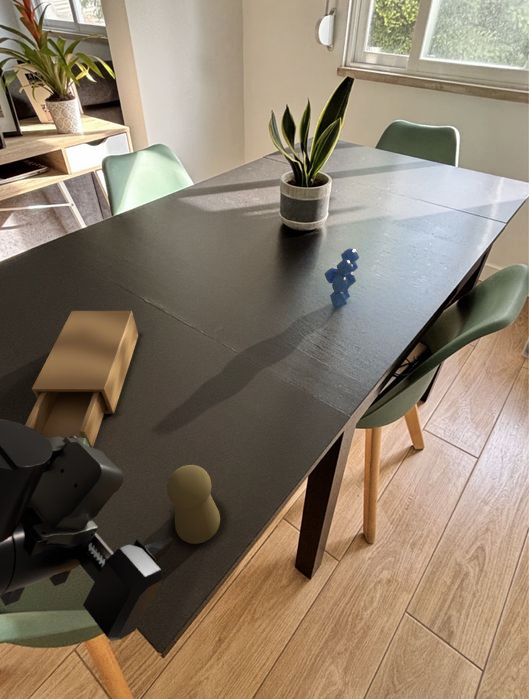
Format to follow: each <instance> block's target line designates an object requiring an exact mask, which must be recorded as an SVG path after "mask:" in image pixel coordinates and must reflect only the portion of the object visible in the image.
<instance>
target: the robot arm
mask: <svg viewBox="0 0 529 699" xmlns="http://www.w3.org/2000/svg"><path fill="white" fill-rule="evenodd" d="M124 478H125V477H124V472H123V471H122V470H121V469H120V468H119V467H118V466H116V465H115V464H114V462H112V461H111V460H110V459H109V458H108V457H107V456H106V455H105V453H104V452H103V451H102V450H101V449H97V448H94V447H93V448H92V447H89V446H86V445H84V444H83V443H82V442H81V441H80V440H79V439H78V438H77V437H76V436H75V435H72V436H70V437H69V438H68V437H65V438H62V437H52V438H46V437H44V436H43V435H42V434H40V433H39V432H38V431H36V430H34V429H32V428H30V427H28V426H25V424H23V423H20V422H16V421H13V420H9V419H4V418H0V600H1V602H2V603H3V604H4V606H5V607H6V606H9V605H12V604H14V603H16V602H19V601H20V599H21V597H22V594H23V592H24V591H25V588H27V587H28V586H31V585H34V584H38V583H39V582H42V581H44V580H49V581H50V582H51V584H52V585H53V586H54V587H57V586H60V585H63V584H65V583H66V582H67V580H68V578H69V576H70V574H71V572H72V570H74V569H77V568H78V567H79V566H81V567H82V568H83V570H84V571H85V572H86V573H87V574H88V576H89V577H90V578H91V580H92V581H93V584H92V586H91V589H90V590H89V593H88V594H87V596H86V598H85V600H84V602H83V604H82V606H83V608H84V609H85V610H86V611H87V613H88V614H89V615H90V617H91V618H92V620H94V622H95V623H96V625H97V626H98V627H99V629H100V630H101V631H102V633H103V634H104V635H105V636H106V638H107V639H108V640H109V641H110V642H115V641H121V640H122V639H124V638H126V637H127V636H129V635H131V634H132V633H135V631H137V629H138V627H139V626H140V623H141V621H142V620H143V618H144V615H145V614H146V612H147V611H148V608H149V606H150V604H151V603H152V601H153V599H154V597H155V595H156V593H157V592H158V589H159V587H160V586H161V584H162V582H163V572H162V569H161V567H160V566H159V563H158V562H160V560H161V559H162V558H163V556H165V554H166V552H167V551H168V550H169V549H170V547H171V546H172V544H173V542H174V538H172V537H171V536H169V537H164V538H161V539H158V540H156V541H155V540H154V541H153V542H150V543H148V544H145V545H144V543H143V542H142V541H140V540H139V538H137V539H136V540H135V541H134V543H133V544H130V543H128V544H126V545H123V546H120V547H119V548H117V549H116V550H115V551H113V550H112V549H111V548H110V547H109V546H108V545H107V543H106V542H105V540H104V539H102V537H101V536H100V535H99V534H98V533H97V531H98V529H99V526H98V525H97V524H96V522H94V519H95V518H96V517H97V515H98V514H99V513H100V512H101V511H102V509H103V508H104V506H105V505H106V504H107V503H108V501H109V500H110V499H111V498H112V497H113V496H114V494H115V493H117V492H118V491H119V489H120V488H121V487H122V485H123V484H124Z"/></svg>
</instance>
